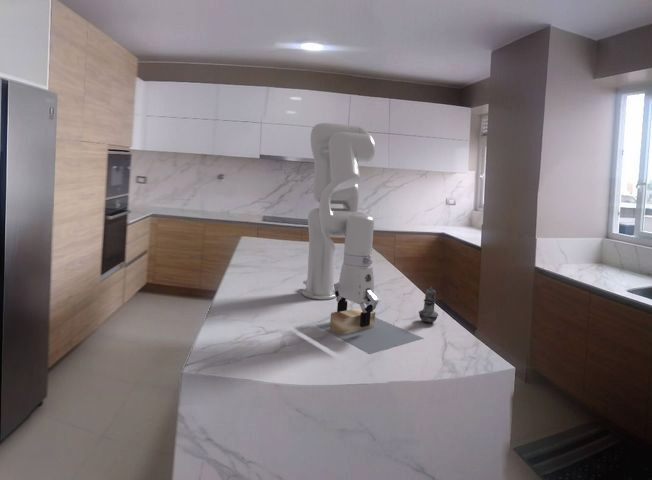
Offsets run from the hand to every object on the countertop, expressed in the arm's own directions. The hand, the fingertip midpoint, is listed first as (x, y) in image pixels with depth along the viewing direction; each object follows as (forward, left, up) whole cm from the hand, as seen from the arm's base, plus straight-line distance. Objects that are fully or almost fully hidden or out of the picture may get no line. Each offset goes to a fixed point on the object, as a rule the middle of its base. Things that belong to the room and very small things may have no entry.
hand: (352, 320), depth 114 cm
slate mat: (+4, +2, -3) cm, 6 cm away
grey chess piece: (+7, +24, -3) cm, 25 cm away
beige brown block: (0, 0, -2) cm, 2 cm away
